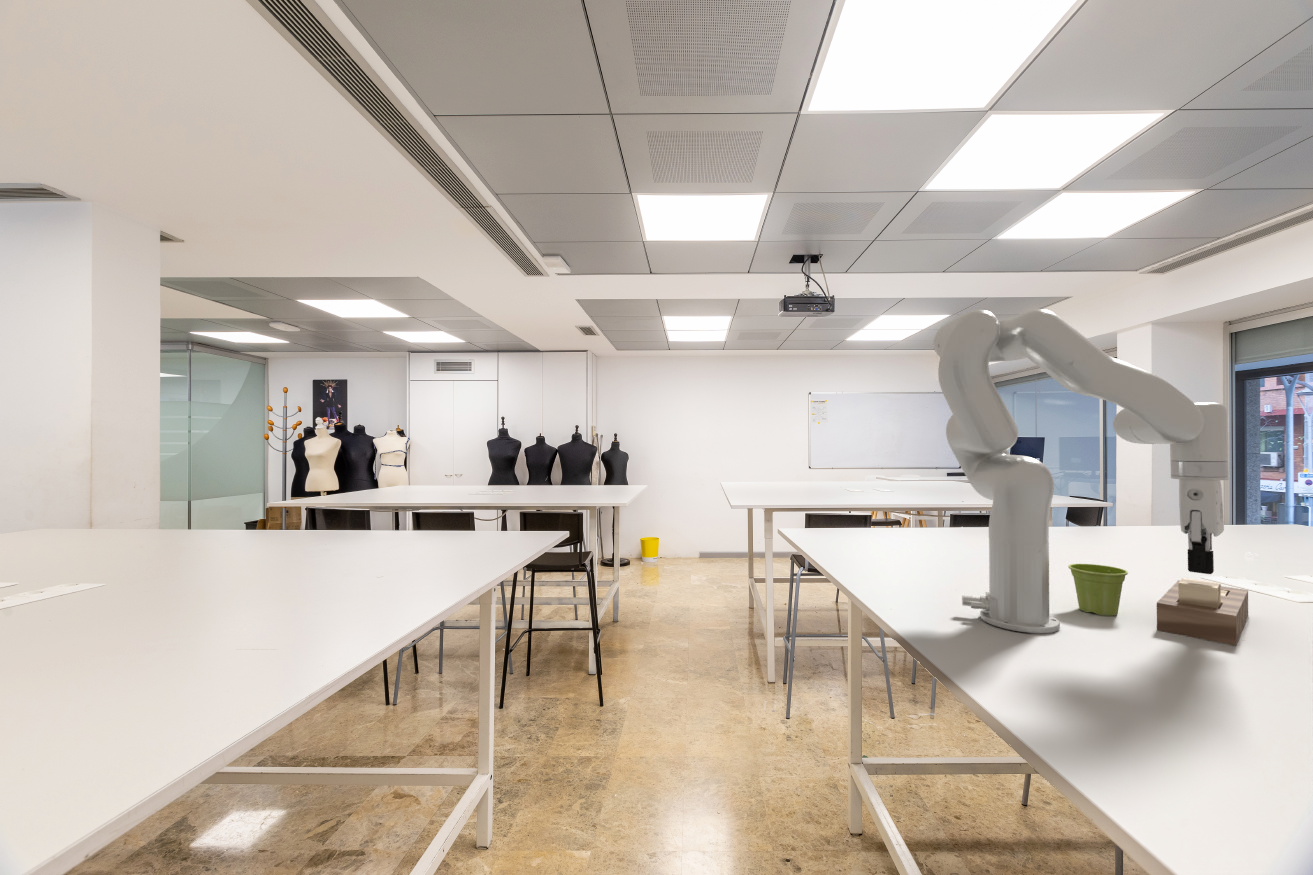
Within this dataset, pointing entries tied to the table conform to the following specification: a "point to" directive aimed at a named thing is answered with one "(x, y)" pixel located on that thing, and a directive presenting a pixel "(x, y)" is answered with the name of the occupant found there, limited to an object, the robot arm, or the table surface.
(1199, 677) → the table surface
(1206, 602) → the peg near
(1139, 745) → the table surface
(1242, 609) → the peg board
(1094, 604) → the plant pot
